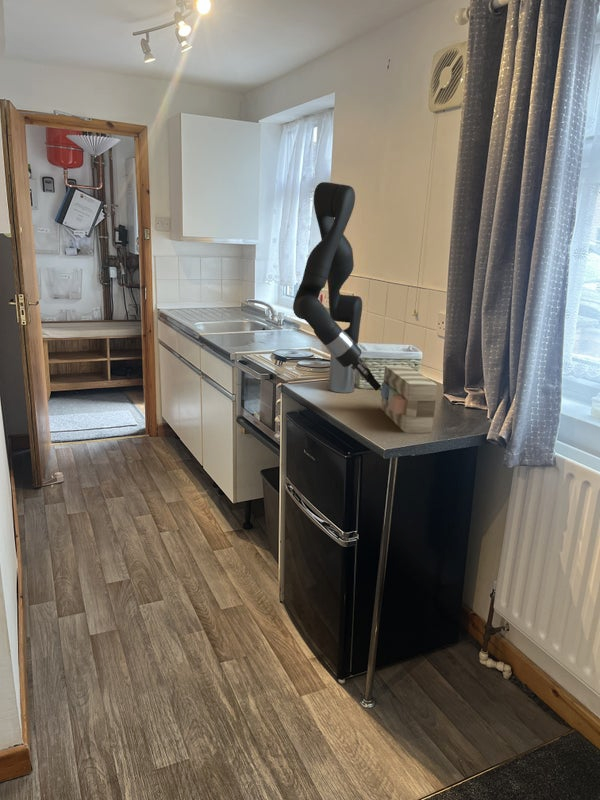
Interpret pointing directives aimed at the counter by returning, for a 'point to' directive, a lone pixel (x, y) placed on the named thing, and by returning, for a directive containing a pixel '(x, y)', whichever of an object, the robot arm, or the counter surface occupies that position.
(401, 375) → the block
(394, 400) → the terracotta button
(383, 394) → the blue button
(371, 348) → the storage basket
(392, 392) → the green button
